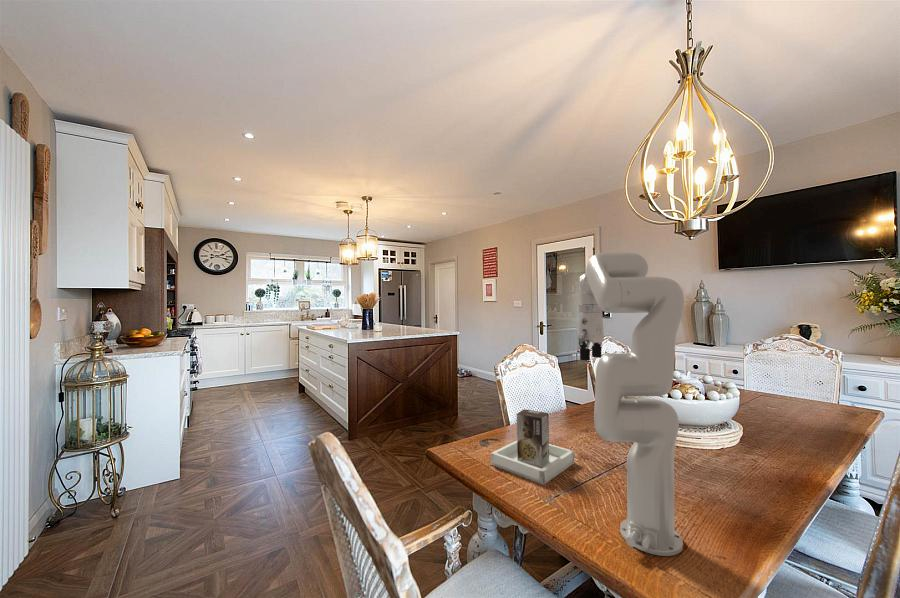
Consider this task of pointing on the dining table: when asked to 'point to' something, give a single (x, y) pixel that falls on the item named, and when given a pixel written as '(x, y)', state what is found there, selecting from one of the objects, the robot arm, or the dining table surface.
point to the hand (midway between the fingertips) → (591, 358)
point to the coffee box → (533, 437)
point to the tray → (557, 464)
